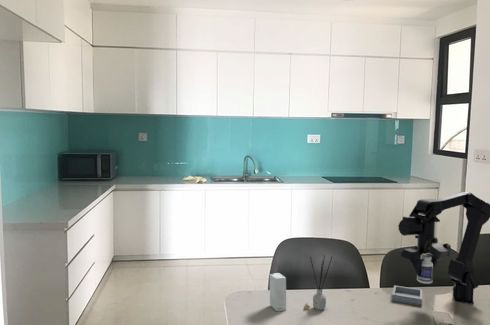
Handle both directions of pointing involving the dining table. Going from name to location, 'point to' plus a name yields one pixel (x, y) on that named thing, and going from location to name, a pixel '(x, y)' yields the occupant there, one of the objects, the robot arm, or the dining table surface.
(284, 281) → the skincare box
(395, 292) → the tray
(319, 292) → the reed diffuser
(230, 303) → the dining table surface
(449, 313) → the dining table surface
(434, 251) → the robot arm
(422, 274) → the pill bottle
